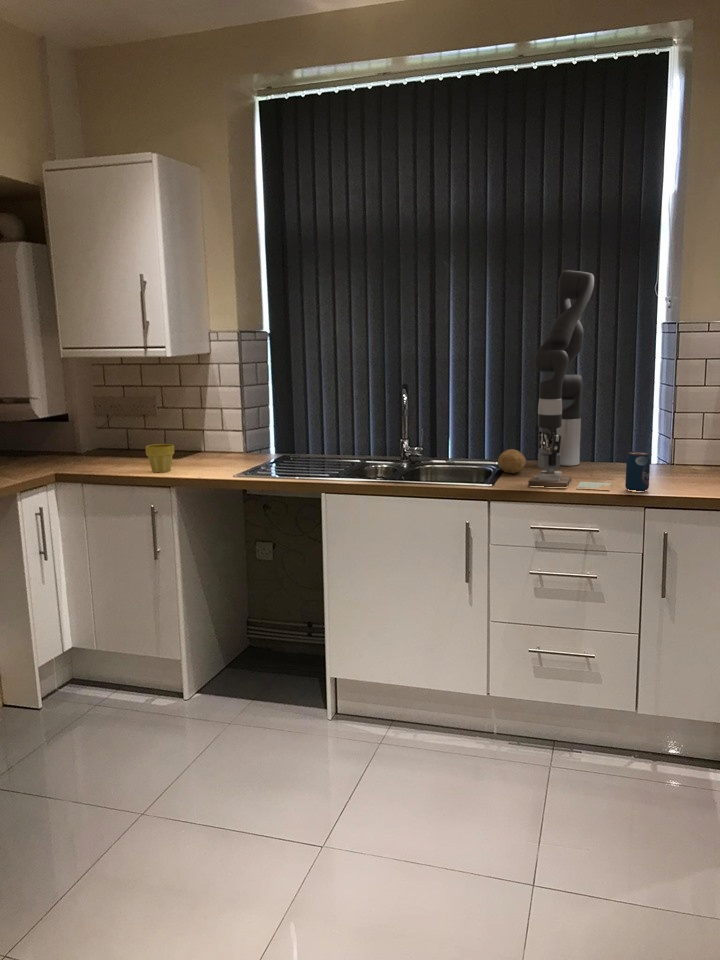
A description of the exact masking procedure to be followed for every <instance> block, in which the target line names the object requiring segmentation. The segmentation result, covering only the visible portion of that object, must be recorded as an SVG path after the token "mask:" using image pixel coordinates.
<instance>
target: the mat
mask: <svg viewBox="0 0 720 960" xmlns="http://www.w3.org/2000/svg"><path fill="white" fill-rule="evenodd" d="M611 484H612V485H613V483H612V482H611V483H610V482H594V481H591V482H590V481H579V483H578V484H577V486H576V488H577V487H579V488H581V487H582V488H585V487H589V488H595V487H596V488H599V487H600V486H602V485H604V486H609V485H611Z"/></svg>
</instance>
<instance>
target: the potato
mask: <svg viewBox="0 0 720 960" xmlns="http://www.w3.org/2000/svg"><path fill="white" fill-rule="evenodd" d="M526 462H527V459H526V457H525V455H523V453H521V451H519V450H518V449H517V450H516V449H513V448H511V449H506V450H504V451H503V452H502V453H501V454H499V457H498V459H497V463H498V466H499V469H501V470H502V471H504V472H505V473H506V472H507V474H508V473H509V474H516V473H518V472H521V471H522V470H523V469H524V467H525V466H526Z"/></svg>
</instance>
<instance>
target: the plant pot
mask: <svg viewBox="0 0 720 960" xmlns="http://www.w3.org/2000/svg"><path fill="white" fill-rule="evenodd" d="M144 448H145V455H146V456H147V458H148V462H149V464H150V468H151V471H152V473H156V472H162V473H168V472H167V471H169V472H171V471H172V470H171V468H172V463H173V456H174V454H175V445H174V444H171V443H155V444H153V443H152V444H149V445H148V444H147V445H146V446H145V447H144Z"/></svg>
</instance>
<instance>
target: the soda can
mask: <svg viewBox="0 0 720 960" xmlns="http://www.w3.org/2000/svg"><path fill="white" fill-rule="evenodd" d="M625 464H626V466H625V467H626V468H625V484H624V485H625V488H626V490H627V489H629V490H636V491H645V490H648V489H649V488H650V487H649V486H650V472H651V471H650V470H651V458H650V456H649V452H647V451H629V452H628V455H627V457H626V462H625Z"/></svg>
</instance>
